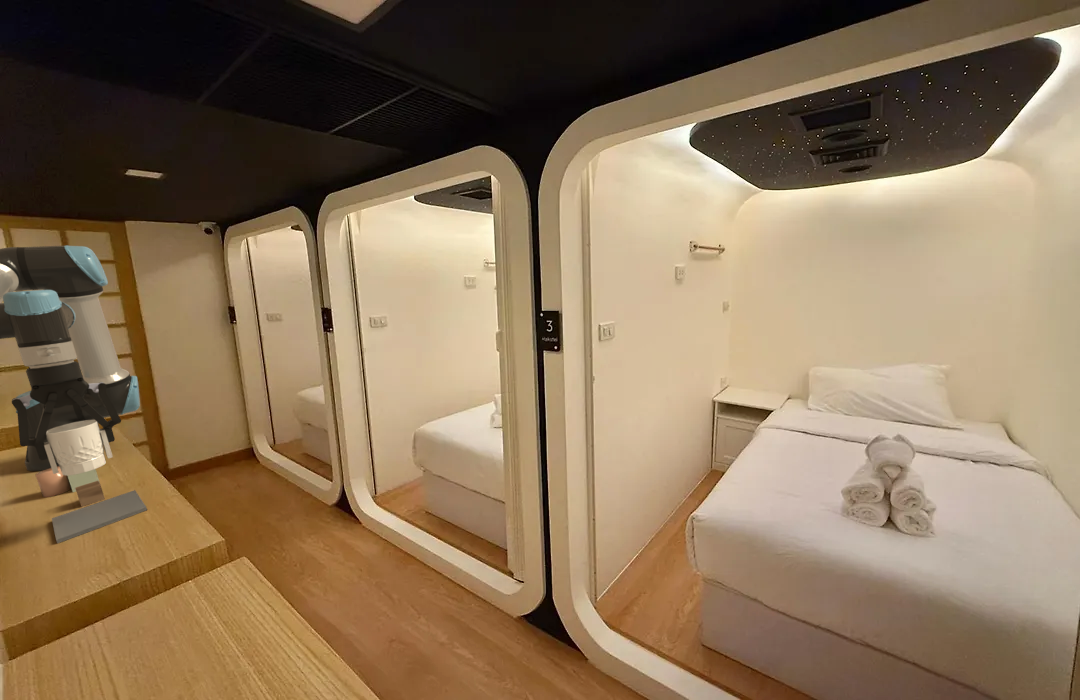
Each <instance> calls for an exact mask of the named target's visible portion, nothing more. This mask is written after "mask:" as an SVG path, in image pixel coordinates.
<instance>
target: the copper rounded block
mask: <svg viewBox="0 0 1080 700" xmlns="http://www.w3.org/2000/svg"><path fill="white" fill-rule="evenodd" d="M57 468H58V472H59V473H55V474H53V471H52V468H49V469H46V470H40V471H37V473H35V477H36V480H37V483H38V487H39V488H40V489H39V490H40V491H41V495H42V497H43V498H49V497H50V498H51V497H54V496H58V495H61V494H65V493H66V492H68V491H70V490H72V488H71V485H70V482H69V479H68V476H66V475H63V474H62V472H61V469H60V467H59V466H58V467H57Z"/></svg>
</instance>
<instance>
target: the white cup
mask: <svg viewBox="0 0 1080 700" xmlns="http://www.w3.org/2000/svg"><path fill="white" fill-rule="evenodd" d="M99 425H100V424H99V423H98V422H97V421H96V420H85V421H79V422H74V423H69V424H65V425H61V426H58V427H55V428H52V429H49V430H47V432H46V438H47V440H48V443H49V444H50V447H51V450H52V452H53V454H54V457H55V459H56V461H57V463H58V464H59V467H60V469H61V472H62V474H63V475H66V476H69V475H76V474H80V473H84V472H88V471H91V470H94V469H96V470H97V469H99V468H101V467H103V466H104V465H105V464H106V463H107V462H106V457H105V449H104V445H103V442H102V438H101V434H100V429H101V428H100V426H99Z"/></svg>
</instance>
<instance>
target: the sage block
mask: <svg viewBox="0 0 1080 700" xmlns="http://www.w3.org/2000/svg"><path fill="white" fill-rule="evenodd" d="M68 479H69V482H70V485H71V492H72V493H75V492H76V489H75V488H76V487H79V486H82V485H85V484H89V483H92V482H95V481H99V483H100V484H101V482H100V479H99V475H98V473H97V468H96V469H94V470H91V471H88V472H84V473H80V474H76V475H69V476H68ZM76 493H77V492H76Z"/></svg>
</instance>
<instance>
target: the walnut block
mask: <svg viewBox="0 0 1080 700" xmlns="http://www.w3.org/2000/svg"><path fill="white" fill-rule="evenodd" d="M99 482H100V480H99V481H95V482H92V483H89V484H85V485H82V486H79V487H76V488H75V489H76V494H77V497H78V501H79V504H80V506H81V508H84V507H87V506H90V505H93V504H95V503H98V502H101V501H104V500H106V498H105V495H104V491H103V488H102V485H101V482H100V483H99Z"/></svg>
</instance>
